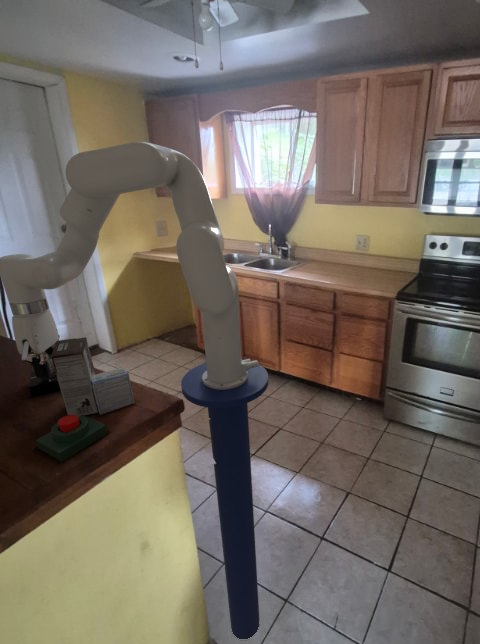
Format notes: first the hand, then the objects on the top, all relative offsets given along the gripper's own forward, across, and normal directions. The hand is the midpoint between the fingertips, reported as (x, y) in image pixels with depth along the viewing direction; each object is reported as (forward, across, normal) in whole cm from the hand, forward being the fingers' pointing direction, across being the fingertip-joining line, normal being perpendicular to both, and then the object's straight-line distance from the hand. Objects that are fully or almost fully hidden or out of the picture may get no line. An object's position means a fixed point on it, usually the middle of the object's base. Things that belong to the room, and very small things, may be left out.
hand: (49, 371), depth 97 cm
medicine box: (+4, +11, +21) cm, 24 cm away
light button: (0, +24, +17) cm, 29 cm away
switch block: (+4, +24, +17) cm, 30 cm away
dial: (+1, 0, 0) cm, 1 cm away
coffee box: (+4, +11, +14) cm, 18 cm away
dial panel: (+4, 0, 0) cm, 4 cm away
